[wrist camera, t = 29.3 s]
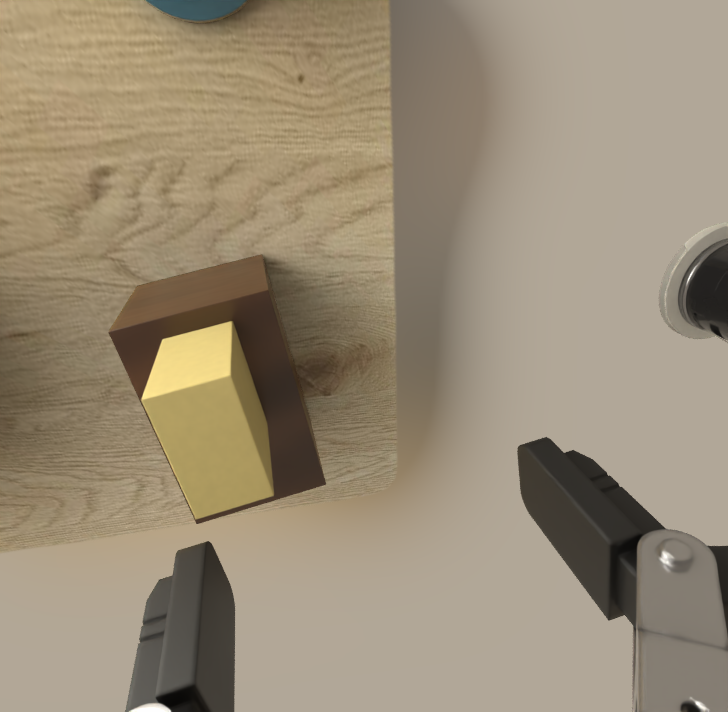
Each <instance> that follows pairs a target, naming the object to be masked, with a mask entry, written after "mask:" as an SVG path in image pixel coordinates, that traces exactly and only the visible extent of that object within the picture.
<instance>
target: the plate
mask: <svg viewBox="0 0 728 712" xmlns="http://www.w3.org/2000/svg"><path fill="white" fill-rule="evenodd" d="M144 1H146V2H147V3H148V4H149V5H151V6H152V7H153V8H155V9H157V10H158V11H160V12H162V13H163V14H165V15H168V16H170V17H172V18H174V19H178V20H181V21H185V22H191V23H209V22H215V21H219V20H222V19H225V18H227V17H229V16H231V15H233V14H234V13H236V12H237V11H238V10H240V9H241V8H242V7H243V6H244V5H245V4H246V3H247V2H248V1H249V0H144Z"/></svg>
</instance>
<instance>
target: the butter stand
mask: <svg viewBox="0 0 728 712" xmlns="http://www.w3.org/2000/svg"><path fill="white" fill-rule="evenodd" d="M230 321H233V323H234V326H235V329H236V332H237V335H238V338H239V341H240V344H241V347H242V350H243V353H244V356H245V359H246V361H247V364H248V367H249V370H250V373H251V376H252V379H253V382H254V385H255V388H256V391H257V394H258V397H259V400H260V403H261V406H262V409H263V412H264V415H265V418H266V421H267V425H268V435H269V446H270V457H271V467H272V478H273V488H274V496H272V497H268V498H265V499H262V500H259V501H255V502H252V503H249V504H245V505H242V506H239V507H236V508H232V509H229V510H226V511H223V512H219V513H216V514H213V515H209V516H206V517H203V518H200V519H195V517H194V514H193V512H192V510H191V508H190V506H189V503H188V501H187V499H186V497H185V495H184V493H183V490H182V488H181V486H180V484H179V482H178V479H177V477H176V475H175V473H174V471H173V469H172V466H171V464H170V462H169V460H168V458H167V455H166V453H165V451H164V449H163V447H162V445H161V442H160V440H159V438H158V436H157V434H156V431H155V429H154V427H153V425H152V423H151V421H150V418H149V416H148V414H147V412H146V410H145V407H144V405H143V403H142V401H141V399H142V396H143V393H144V390H145V387H146V385H147V382H148V379H149V376H150V373H151V370H152V368H153V365H154V362H155V359H156V356H157V353H158V351H159V348H160V345H161V342H162V340H163V339H166V338H170V337H173V336H177V335H181V334H185V333H188V332H192V331H196V330H200V329H203V328H207V327H211V326H215V325H219V324H222V323H226V322H230ZM109 334H110V337H111V339H112V341H113V343H114V345H115V347H116V350H117V352H118V354H119V356H120V358H121V360H122V363H123V365H124V367H125V369H126V371H127V373H128V376H129V378H130V380H131V382H132V384H133V387H134V389H135V391H136V393H137V395H138V397H139V400H140V402H141V404H142V406H143V408H144V410H145V413H146V415H147V417H148V419H149V421H150V424H151V426H152V428H153V430H154V432H155V434H156V437H157V439H158V441H159V443H160V445H161V447H162V450H163V452H164V454H165V456H166V458H167V461H168V463H169V465H170V467H171V469H172V471H173V474H174V476H175V478H176V480H177V482H178V484H179V487H180V489H181V491H182V493H183V495H184V497H185V500H186V502H187V504H188V506H189V508H190V511H191V513H192V515H193V517H194V519H195V521H196V524H199V523H202V522H205V521H209V520H212V519H215V518H218V517H222V516H225V515H228V514H231V513H235V512H238V511H241V510H245V509H248V508H251V507H254V506H258V505H261V504H264V503H267V502H271V501H274V500H277V499H280V498H284V497H287V496H290V495H293V494H297V493H300V492H303V491H306V490H310V489H313V488H316V487H320V486H323V485H326V482H325V478H324V473H323V469H322V465H321V461H320V457H319V453H318V449H317V444H316V440H315V436H314V432H313V428H312V424H311V420H310V416H309V413H308V409H307V406H306V402H305V399H304V395H303V392H302V389H301V385H300V382H299V378H298V375H297V372H296V368H295V365H294V361H293V358H292V354H291V351H290V348H289V344H288V341H287V337H286V334H285V331H284V327H283V324H282V320H281V317H280V313H279V310H278V307H277V303H276V300H275V296H274V293H273V290H272V286H271V283H270V279H269V276H268V272H267V269H266V266H265V262H264V259H263V255H257V256H253V257H250V258H246V259H242V260H238V261H234V262H230V263H226V264H222V265H218V266H214V267H210V268H206V269H202V270H198V271H194V272H190V273H186V274H182V275H178V276H174V277H170V278H166V279H162V280H158V281H154V282H151V283H147V284H143V285H139V286H137V287H136V288H135V290H134V292H133V293H132V295H131V296H130V298H129V300H128V301H127V303H126V304H125V306H124V308H123V309H122V311H121V312H120V314H119V316H118V317H117V319H116V320H115V322H114V324H113V325H112V327H111V328H110V330H109Z"/></svg>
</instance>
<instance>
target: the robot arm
mask: <svg viewBox="0 0 728 712" xmlns="http://www.w3.org/2000/svg"><path fill="white" fill-rule="evenodd" d="M678 306H679V310H680V313H681V315H682V317H683V319H684V320H685V321H686V322H687V323H689V324H690V325H692V326H694V327H696V328H699V329H701V330H704V331H708V332H709V333H711V334H713V335H715V336H716V337H718V338H720V337H721V338H720V339H722V338H723V339H722V340H724V339H725V340H724V341H725V342H727V341H726V340H728V238H727V239H723V240H720V241H718V242H716V243H714V244H712V245H710V246H709V247H708V248H706V249H705V250H704V251H702V252H701V253H700V254H699V255H698V256H697V257H696V258H695V260H694V261H693V262H692V263H691V265H690V266H689V268H688V269H687V271H686V273H685V275H684V277H683V279H682V281H681V284H680V288H679V293H678ZM727 343H728V342H727ZM517 452H518V465H519V476H520V489H521V495H522V499H523V501H524V504H525V506H526V508H527V510H528V512H529V514H530V515H531V517H532V518H533V519H534V521H535V522H536V523H537V525H538V526H539V527H540V529H541V530H542V531H543V533H544V534H545V536H546V537H547V538H548V539H549V541H550V542H551V543H552V545H553V546H554V548H555V549H556V550H557V552H558V553H559V554H560V556H561V557H562V558H563V560H564V561H565V562H566V564H567V565H568V566H569V568H570V569H571V570H572V572H573V573H574V574H575V576H576V577H577V579H578V580H579V581H580V583H581V584H582V585H583V587H584V588H585V589H586V591H587V592H588V593H589V595H590V596H591V597H592V599H593V600H594V601H595V603H596V604H597V605H598V607H599V608H600V610H601V611H602V612H603V613H604V615H605V616H606V618H607V619H608V620H612V619H615V618H617V617H620V616H623V615H625V616H626V617H627V618H628V620H629V621H630V622H631V623H632V625H633V683H632V684H633V685H632V687H633V688H632V690H633V691H632V712H728V546H706V545H705V544H704V543H703V542H702V541H700V540H699V539H697V538H695V537H694V536H692V535H689V534H687V533H684V532H681V531H677V530H668V529H665V528H664V527H663V526H662V525H661V524H660V523H659V522H658V521H657V520H656V519H655V518H654V517H653V516H652V515H651V514H650V513H649V512H647V510H645V509H644V508H643V507H642V506H641V505H640V504H639V503H638V502H637V501H636V500H635V499H634V498H633V497H632V496H631V495H629V493H628V492H627V491H625V490H624V489H623V488H622V487H620V486H619V484H618V483H617V482H616V481H615V480H614V479H613V478H612V477H611V476H608V475H607V472H606V471H604V470H603V469H602V468H601V467H600V466H599V465H598V464H597V463H596V462H595V461H594V460H593V459H591V458H589V457H586V456H585V455H582V454H580V453H578V452H576V451H574V450H572V451H569V452H566V453H563V452H562V451H561V450H560V448H559V447H557V445H555V443H554V442H553V441H552V440H551V439H549V438H547V437H545V438H542V439H538V440H535V441H532V442H529V443H526V444H523V445H520V446H519V447H518V451H517ZM139 640H140V643H139V644H138V649H137V654H136V659H135V664H134V670H133V675H132V681H131V685H130V690H129V695H128V701H127V706H126V710H125V712H234V673H235V671H234V670H235V668H234V666H235V659H234V658H235V604H234V598H233V593H232V589H231V586H230V583H229V581H228V578H227V576H226V574H225V572H224V570H223V567H222V565H221V563H220V561H219V559H218V556H217V554H216V552H215V550H214V548H213V546H212V544H211V543H210V542H209V541H207V542H204V543H201V544H198V545H195V546H191V547H188V548H185V549H182V550H178V551H177V553H176V557H175V563H174V571H173V576H170V577H166V578H163V579H160V580H159V581H158V583H157V584H156V586H155V588H154V589H153V591H152V593H151V594H150V596H149V598H148V600H147V602H146V608H145V613H144V618H143V626H142V629H141V634H140V638H139Z"/></svg>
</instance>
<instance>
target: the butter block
mask: <svg viewBox="0 0 728 712" xmlns="http://www.w3.org/2000/svg"><path fill="white" fill-rule="evenodd" d="M141 401H142V403H143V405H144V407H145V410H146V412H147V414H148V416H149V418H150V421H151V423H152V425H153V427H154V429H155V431H156V434H157V436H158V438H159V440H160V442H161V445H162V447H163V449H164V451H165V453H166V455H167V458H168V460H169V462H170V464H171V466H172V469H173V471H174V473H175V475H176V477H177V479H178V482H179V484H180V486H181V488H182V490H183V493H184V495H185V497H186V499H187V501H188V503H189V506H190V508H191V510H192V512H193V514H194V517H195V519H200V518H203V517H206V516H209V515H213V514H216V513H219V512H223V511H226V510H229V509H232V508H236V507H239V506H242V505H245V504H249V503H252V502H255V501H259V500H262V499H265V498H268V497H272V496H274V488H273V478H272V467H271V457H270V446H269V435H268V425H267V421H266V418H265V415H264V412H263V409H262V406H261V403H260V400H259V397H258V394H257V391H256V388H255V385H254V382H253V379H252V376H251V373H250V370H249V367H248V364H247V361H246V359H245V356H244V353H243V350H242V347H241V344H240V341H239V338H238V335H237V332H236V329H235V326H234V323H233V321H230V322H226V323H222V324H219V325H215V326H211V327H207V328H203V329H200V330H196V331H192V332H188V333H185V334H181V335H177V336H173V337H170V338H166V339H163V340H162V342H161V345H160V348H159V351H158V353H157V356H156V359H155V362H154V365H153V368H152V370H151V373H150V376H149V379H148V382H147V385H146V387H145V390H144V393H143V396H142V399H141Z"/></svg>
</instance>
